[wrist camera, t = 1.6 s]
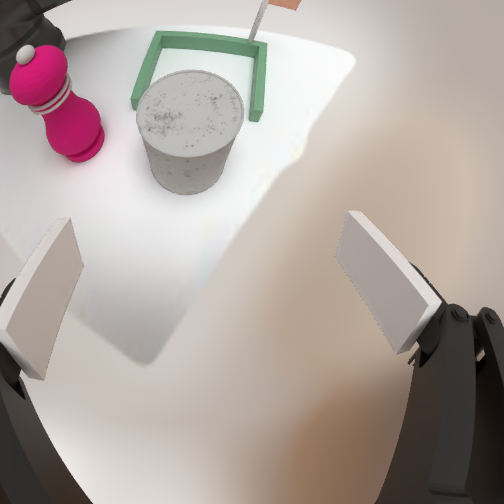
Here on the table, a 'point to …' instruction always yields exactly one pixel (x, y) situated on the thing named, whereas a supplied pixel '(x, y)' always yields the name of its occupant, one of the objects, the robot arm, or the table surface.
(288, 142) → the table surface
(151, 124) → the concrete cylinder
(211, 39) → the putting stop
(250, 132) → the table surface
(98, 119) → the pepper mill
